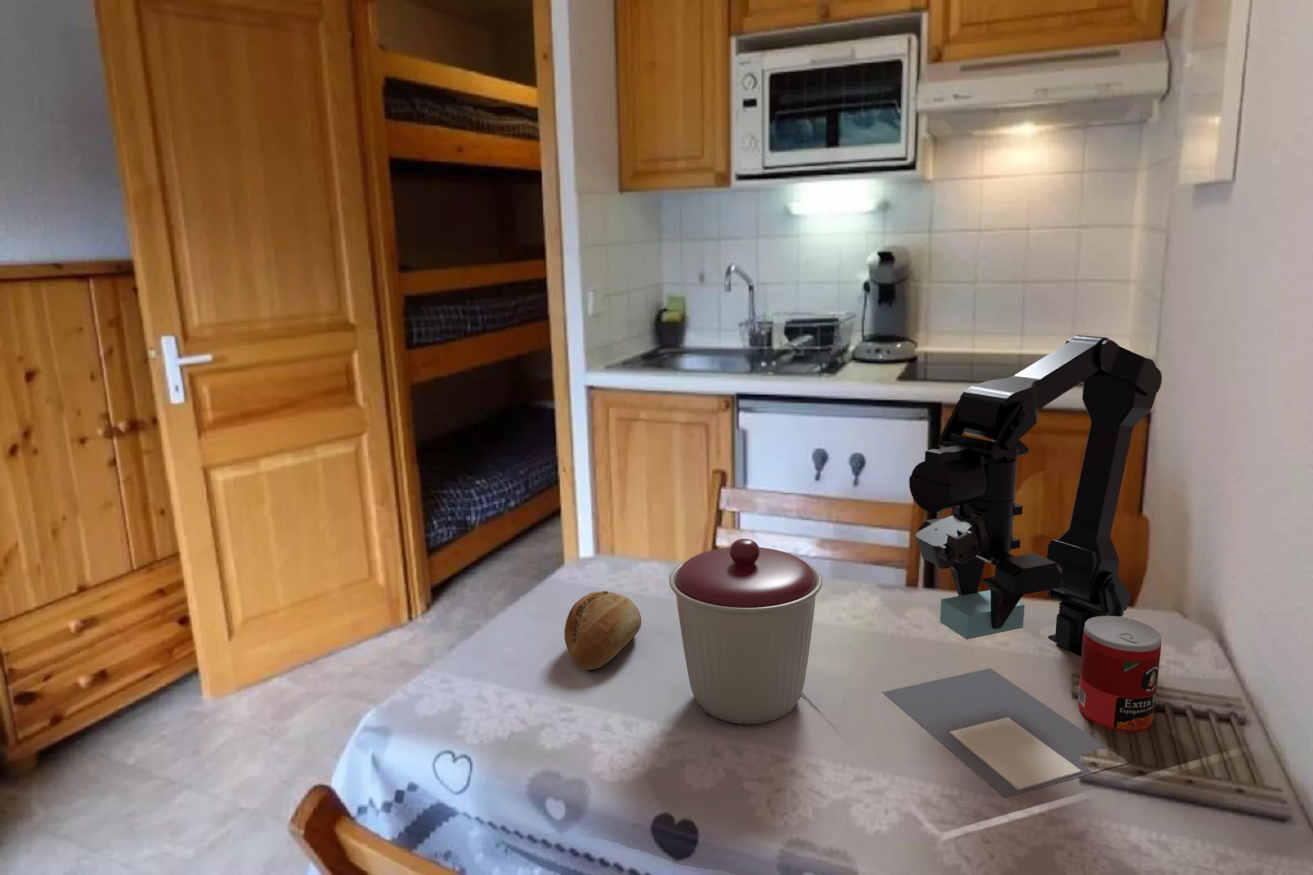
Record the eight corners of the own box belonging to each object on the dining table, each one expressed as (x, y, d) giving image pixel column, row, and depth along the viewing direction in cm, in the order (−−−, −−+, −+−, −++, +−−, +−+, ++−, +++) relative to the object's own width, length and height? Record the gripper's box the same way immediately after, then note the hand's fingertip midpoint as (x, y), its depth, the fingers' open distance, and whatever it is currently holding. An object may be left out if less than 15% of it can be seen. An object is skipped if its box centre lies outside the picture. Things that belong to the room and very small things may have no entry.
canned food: (1124, 744, 95) (1133, 652, 93) (1061, 710, 102) (1068, 624, 100) (1168, 724, 99) (1178, 635, 96) (1104, 693, 106) (1112, 609, 103)
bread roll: (549, 672, 116) (545, 617, 114) (592, 624, 130) (589, 574, 128) (616, 681, 113) (613, 625, 111) (652, 631, 127) (650, 580, 125)
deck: (994, 611, 108) (995, 588, 107) (1022, 627, 103) (1024, 604, 103) (940, 622, 105) (941, 599, 105) (966, 639, 101) (967, 615, 100)
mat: (989, 671, 112) (990, 666, 112) (1130, 766, 91) (1130, 760, 91) (882, 695, 107) (882, 690, 107) (1004, 802, 87) (1005, 795, 86)
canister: (651, 727, 102) (644, 559, 97) (700, 657, 118) (696, 510, 113) (803, 756, 95) (804, 577, 90) (833, 678, 112) (835, 522, 107)
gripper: (883, 483, 107) (880, 600, 110) (984, 529, 90) (976, 666, 93) (959, 472, 110) (954, 587, 114) (1070, 514, 93) (1060, 648, 96)
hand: (981, 619), depth 104 cm, fingers closed on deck, 5 cm apart
